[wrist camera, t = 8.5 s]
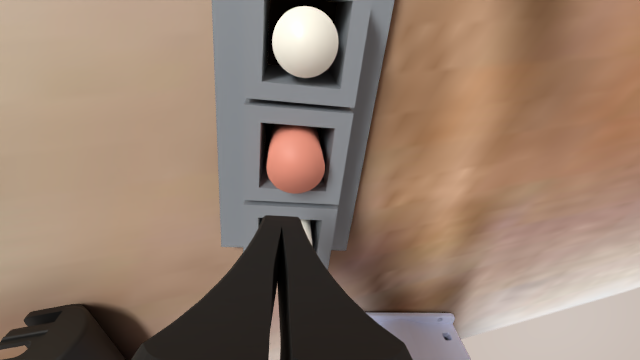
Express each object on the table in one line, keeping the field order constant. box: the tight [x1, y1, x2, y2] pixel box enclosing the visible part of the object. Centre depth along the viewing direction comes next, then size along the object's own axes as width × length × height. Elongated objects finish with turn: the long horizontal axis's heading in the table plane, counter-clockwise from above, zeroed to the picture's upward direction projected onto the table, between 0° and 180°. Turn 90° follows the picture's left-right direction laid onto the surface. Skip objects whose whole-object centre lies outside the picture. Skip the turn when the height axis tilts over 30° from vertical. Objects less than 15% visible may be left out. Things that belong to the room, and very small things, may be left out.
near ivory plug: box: [272, 6, 338, 78], centre depth 16 cm, size 3×3×5 cm
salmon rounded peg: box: [267, 124, 325, 194], centre depth 17 cm, size 3×3×5 cm
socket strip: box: [212, 0, 394, 270], centre depth 19 cm, size 9×18×5 cm, turn 173°
